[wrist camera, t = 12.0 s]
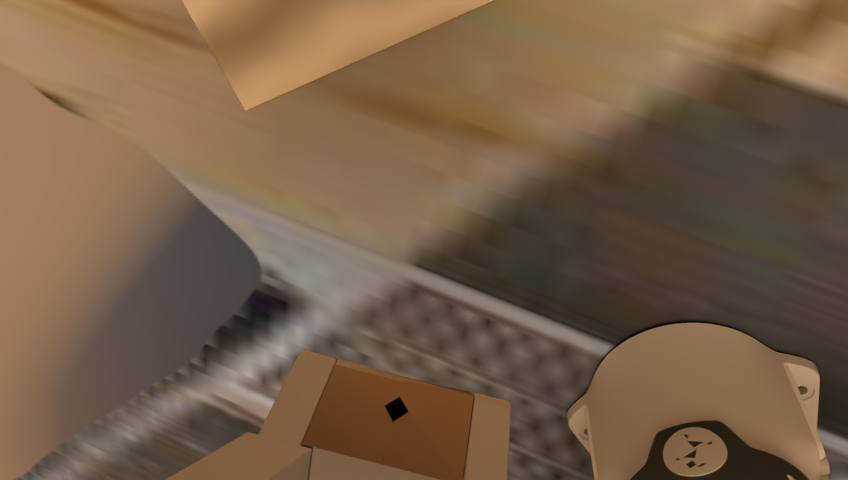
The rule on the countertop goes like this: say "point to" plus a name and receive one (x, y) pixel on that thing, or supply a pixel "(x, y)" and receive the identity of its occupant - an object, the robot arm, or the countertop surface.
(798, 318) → the countertop surface
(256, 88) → the dial plate
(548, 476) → the countertop surface
